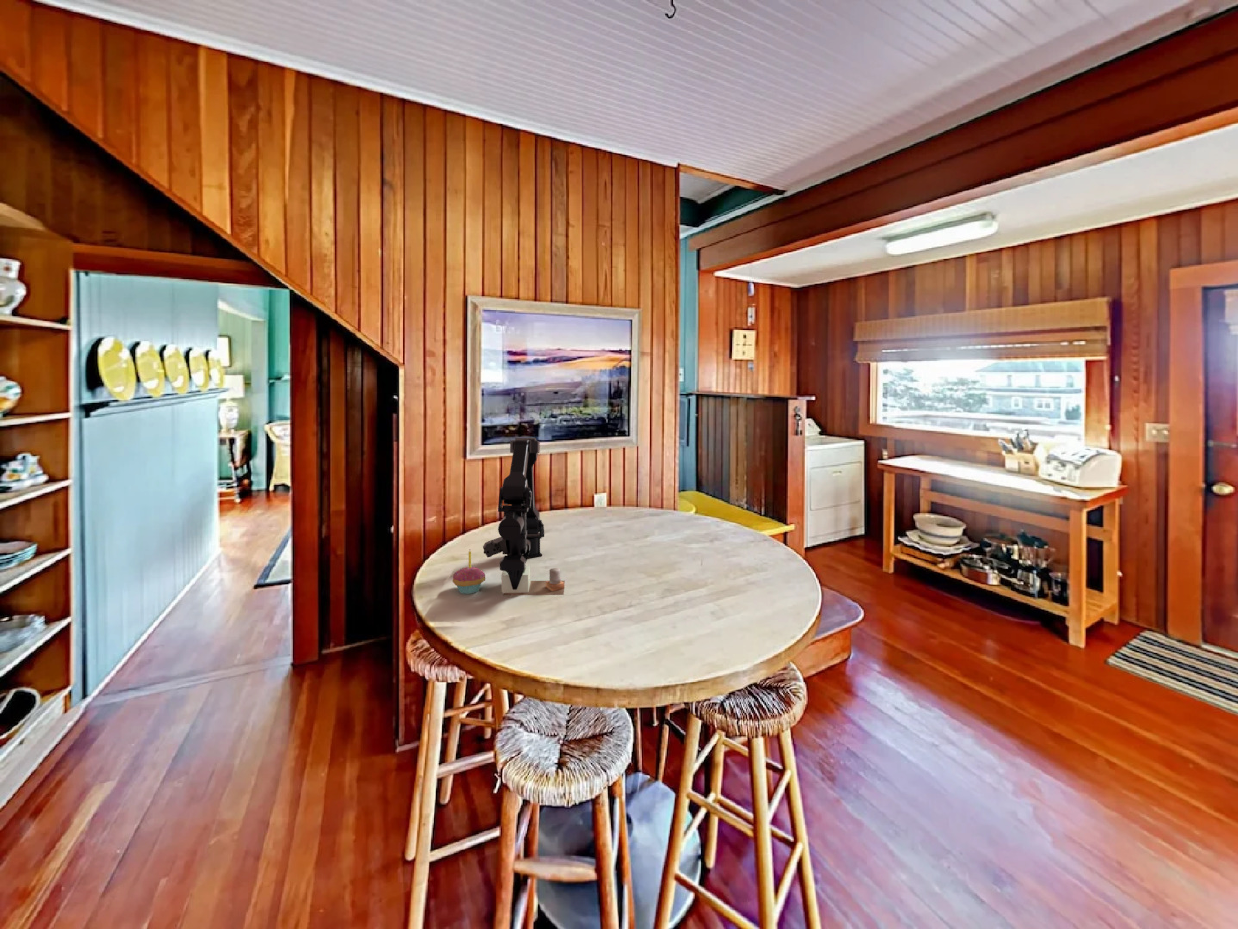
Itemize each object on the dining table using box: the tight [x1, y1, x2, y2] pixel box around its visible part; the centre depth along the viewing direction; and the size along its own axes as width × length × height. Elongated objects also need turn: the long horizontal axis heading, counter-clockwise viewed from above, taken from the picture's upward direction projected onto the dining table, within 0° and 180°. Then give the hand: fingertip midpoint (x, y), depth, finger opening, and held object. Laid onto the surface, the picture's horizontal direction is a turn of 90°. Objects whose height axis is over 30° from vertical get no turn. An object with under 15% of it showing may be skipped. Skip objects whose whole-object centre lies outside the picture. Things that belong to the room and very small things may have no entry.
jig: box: [502, 567, 566, 596], centre depth 153 cm, size 16×10×6 cm, turn 94°
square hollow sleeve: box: [500, 565, 532, 594], centre depth 153 cm, size 7×7×5 cm
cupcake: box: [452, 550, 486, 594], centre depth 151 cm, size 9×8×12 cm
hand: (516, 584), depth 153 cm, fingers closed on square hollow sleeve, 7 cm apart
